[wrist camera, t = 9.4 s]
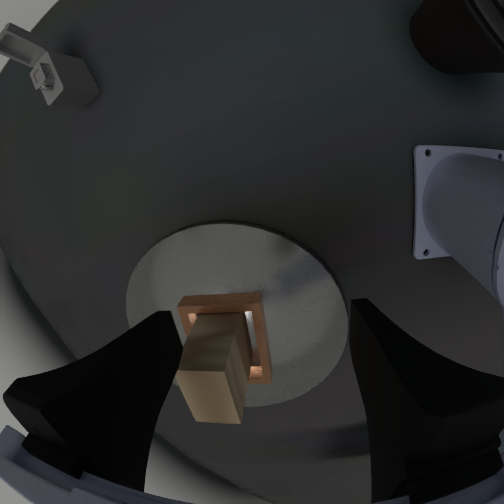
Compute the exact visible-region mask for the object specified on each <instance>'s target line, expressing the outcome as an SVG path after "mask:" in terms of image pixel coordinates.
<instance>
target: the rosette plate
mask: <svg viewBox="0 0 504 504" xmlns="http://www.w3.org/2000/svg"><path fill="white" fill-rule="evenodd" d="M157 311H171V313H172V316H173V319H174V322H175V325H176V328H177V331H178V334H179V337H180V340H181V342H182V345H183V346H184V343H185V341H186V339H187V337H188V335H189V333H190V331H191V329H192V327H193V324H194V322H195V320H196V318H197V316H198V314H199V313H224V312H245V314H246V319H247V325H248V330H249V335H250V340H251V345H252V350H253V358H252V364H251V370H250V375H249V381H248V387H247V392H246V398H245V403H244V406H247V407H249V406H265V405H272V404H276V403H281V402H284V401H287V400H290V399H293V398H296V397H298V396H300V395H302V394H304V393H306V392H307V391H309V390H311V389H312V388H314V387H315V386H317V385H318V384H319V383H320V382H321V381H323V380H324V379H325V378H326V377H327V376H328V375H329V374H330V372H331V371H332V370H333V368H334V367H335V366H336V364H337V363H338V361H339V359H340V357H341V355H342V353H343V350H344V347H345V344H346V340H347V332H348V318H347V312H346V307H345V303H344V300H343V296H342V294H341V291H340V289H339V286H338V284H337V282H336V280H335V279H334V277H333V275H332V274H331V272H330V271H329V269H328V268H327V267H326V266H325V264H324V263H323V262H322V261H321V260H320V259H319V258H318V257H317V256H316V255H315V254H314V253H313V252H312V251H311V250H309V249H308V248H307V247H305V246H304V245H302V244H301V243H300V242H298V241H297V240H295V239H293V238H291V237H290V236H288V235H286V234H284V233H282V232H280V231H277V230H274V229H271V228H269V227H266V226H263V225H259V224H254V223H250V222H245V221H233V220H219V221H208V222H202V223H197V224H193V225H190V226H187V227H184V228H182V229H179V230H177V231H175V232H173V233H171V234H170V235H168V236H166V237H165V238H163V239H162V240H161V241H159V242H158V243H157V244H156V245H154V246H153V247H152V248H151V249H150V250H149V251H148V252H147V253H146V254H145V255H144V256H143V257H142V259H141V260H140V262H139V263H138V265H137V266H136V268H135V269H134V271H133V274H132V276H131V278H130V281H129V285H128V288H127V295H126V313H127V319H128V323H129V327H130V329H131V328H132V327H134V326H135V325H137V324H138V323H140V322H141V321H142V320H144V319H145V318H147V317H148V316H150V315H151V314H153V313H155V312H157ZM172 383H174V384H175V385H177V386H178V387H180V386H179V384H178V382H177V380H176V378H175V377H174V380H173V382H172Z"/></svg>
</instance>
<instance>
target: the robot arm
mask: <svg viewBox="0 0 504 504" xmlns="http://www.w3.org/2000/svg"><path fill="white" fill-rule="evenodd" d="M426 149H428V151H429V155H428V156H426V155H425V150H426ZM498 154H499V158H498ZM413 156H414V179H415V217H414V241H413V255H414V257H415V258H416V259H429V258H437V257H446V256H452V257H453V258H454V259H455V260H456V261H457V262H458V263H459V264H460V265H461V266H463V267H464V268H465V269H466V270H467V271H468V272H469V273H470V274H471V275H472V276H473V277H474V278H475V279H476V280H477V281H478V282H479V283H480V284H481V285H482V286H483V287H484V288H485V289H486V290H487V291H488V292H489V293H490V294H491V295H492V296H493V297H494V298H495V299H496V300H497V301H498V302H499V303H500V304H501V306H502V307H503V313H504V150H496V149H486V148H474V147H459V146H438V145H417V146H416V147H415V148H414V150H413ZM426 249H427V252H426V253H425V254H423V252H424V251H425V250H426ZM503 321H504V314H503ZM349 343H350V350H351V356H352V363H353V366H354V370H355V374H356V377H357V381H358V384H359V388H360V392H361V396H362V399H363V403H364V407H365V412H366V417H367V425H368V433H369V444H370V456H371V478H372V500H371V504H504V452H503V453H502V454H501V455H500V453H499V450H498V447H499V446H500V445H501V440H500V438H499V433H500V432H501V431H502V430H503V428H504V378H503V377H499V376H495V375H492V374H488V373H484V372H480V371H477V370H474V369H472V368H469V367H466V366H464V365H461V364H459V363H456V362H454V361H452V360H450V359H448V358H446V357H444V356H442V355H440V354H438V353H436V352H434V351H433V350H431V349H429V348H428V347H426V346H425V345H423V344H421V343H420V342H418V341H417V340H415V339H414V338H413V337H411V336H410V335H409V334H407V333H406V332H405V331H403V330H402V329H401V328H399V327H398V326H397V325H396V324H395V323H393V322H392V321H391V320H390V319H389V318H388V317H387V316H385V315H384V314H383V313H382V312H381V311H380V310H379V309H378V308H377V307H376V306H375V305H374V304H373V303H371V302H370V301H369V300H368V299H367V298H362V299H353V300H351V317H350V336H349ZM183 349H184V348H183V345H182V342H181V340H180V337H179V334H178V331H177V328H176V325H175V322H174V319H173V316H172V313H171V311H157V312H155V313H153V314H151V315H150V316H148V317H147V318H145V319H144V320H142V321H141V322H140V323H138V324H137V325H135V326H134V327H132V328H131V329H130V330H128V331H127V332H125V333H124V334H122V335H121V336H119V337H118V338H116V339H115V340H113V341H112V342H110V343H109V344H107V345H106V346H104V347H102V348H101V349H99V350H97V351H95V352H94V353H92V354H90V355H88V356H86V357H84V358H82V359H80V360H77V361H75V362H73V363H71V364H68V365H65V366H63V367H60V368H57V369H54V370H51V371H48V372H44V373H41V374H37V375H32V376H27V377H22V378H17V379H16V380H15V381H14V382H13V383H12V384H11V385H10V387H9V388H8V389H7V390H6V391H5V393H4V394H3V400H4V402H5V404H6V406H7V407H8V408H9V410H10V411H11V413H12V414H13V415H14V417H15V418H16V419H17V420H18V421H19V422H20V424H21V425H22V426H23V427H24V428H25V429H26V430H27V431H28V432H29V434H28V435H27V437H25V436H24V435H22V434H21V433H20V432H18V431H17V430H15V429H13V428H12V427H10V426H8V425H6V426H5V428H4V429H3V431H2V432H1V434H0V478H1V479H2V480H3V481H4V482H6V483H7V484H8V485H9V486H10V487H12V488H13V489H14V490H15V491H17V492H18V493H19V494H20V495H22V496H23V497H24V498H26V499H27V500H28V501H30V502H31V503H33V504H193V503H187V502H182V501H177V500H172V499H168V498H163V497H160V496H156V495H152V494H148V493H145V492H144V485H145V475H146V467H147V462H148V456H149V450H150V446H151V442H152V437H153V433H154V430H155V426H156V422H157V419H158V416H159V413H160V410H161V408H162V405H163V403H164V401H165V398H166V396H167V394H168V391H169V389H170V387H171V385H172V382H173V380H174V377H175V375H176V373H177V370H178V368H179V364H180V361H181V357H182V353H183Z"/></svg>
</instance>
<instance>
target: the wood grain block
mask: <svg viewBox="0 0 504 504" xmlns="http://www.w3.org/2000/svg"><path fill="white" fill-rule="evenodd" d="M183 348H184V349H183V353H182V357H181V361H180V364H179V368H178V370H177V373H176V375H175V378H176V380H177V382H178V384H179V386H180V389H181V391H182V393H183V395H184V397H185V399H186V401H187V404H188V406H189V408H190V410H191V412H192V414H193V416H194V418H195V420H196V421H200V422H213V423H231V424H241V420H242V414H243V409H244V403H245V398H246V392H247V387H248V381H249V375H250V370H251V364H252V358H253V350H252V345H251V340H250V335H249V330H248V325H247V319H246V314H245V312H224V313H199V314H198V316H197V318H196V320H195V322H194V324H193V327H192V329H191V331H190V333H189V335H188V337H187V339H186V341H185V343H184V346H183Z"/></svg>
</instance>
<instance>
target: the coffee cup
mask: <svg viewBox="0 0 504 504" xmlns="http://www.w3.org/2000/svg"><path fill="white" fill-rule="evenodd" d="M409 28H410V35H411V38H412V41H413V43H414V45H415V47H416V49H417V50H418V52H419V53H420V54H421V56H422V57H423V58H424V59H425V60H426V61H427V62H428V63H429V64H430V65H431V66H433V67H435V68H436V69H438V70H440V71H442V72H445V73H449V74H459V73H484V72H504V0H424V1H423V2H422V4H421V5H420V6H419V8H418V9H417V11H416V12H415V13H414V15H413V16H412V18H411V21H410V25H409Z"/></svg>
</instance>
